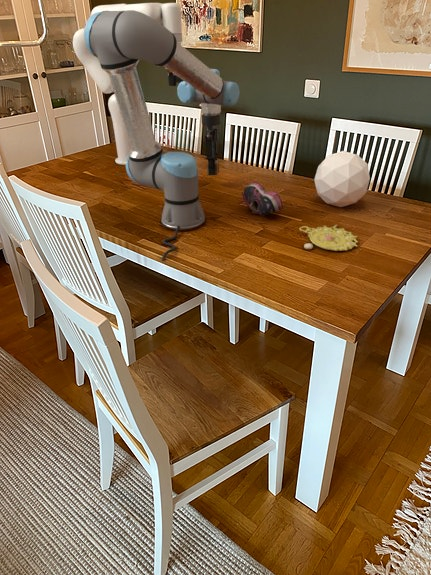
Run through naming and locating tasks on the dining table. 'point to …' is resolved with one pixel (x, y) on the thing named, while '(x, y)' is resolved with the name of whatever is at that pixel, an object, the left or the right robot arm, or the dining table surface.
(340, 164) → the sphere
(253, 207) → the athletic shoe
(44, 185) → the dining table surface
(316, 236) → the decorative object
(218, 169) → the block
